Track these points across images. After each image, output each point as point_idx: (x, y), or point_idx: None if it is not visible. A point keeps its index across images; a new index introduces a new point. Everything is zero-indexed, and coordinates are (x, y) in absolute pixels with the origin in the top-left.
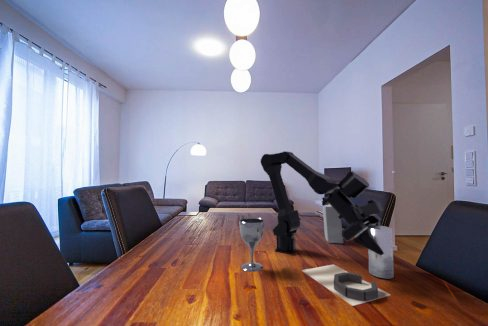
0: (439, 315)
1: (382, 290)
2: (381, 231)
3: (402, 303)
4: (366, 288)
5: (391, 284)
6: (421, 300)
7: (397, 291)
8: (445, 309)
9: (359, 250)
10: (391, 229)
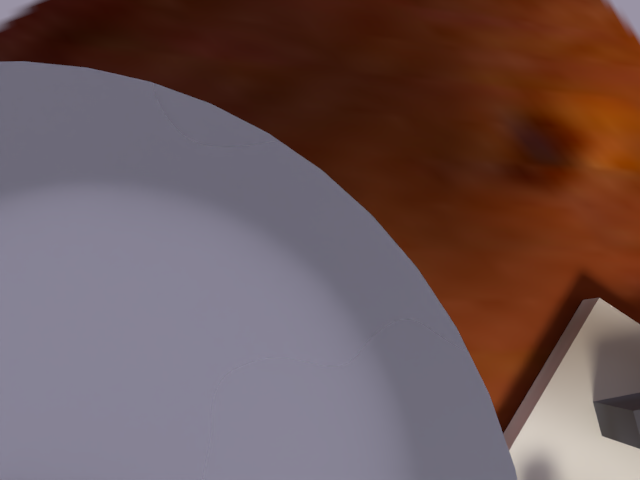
0: (598, 63)
1: (567, 357)
2: (492, 469)
3: (591, 235)
4: (615, 474)
5: None
6: (469, 131)
7: (427, 263)
8: (501, 26)
9: None
10: (88, 84)
